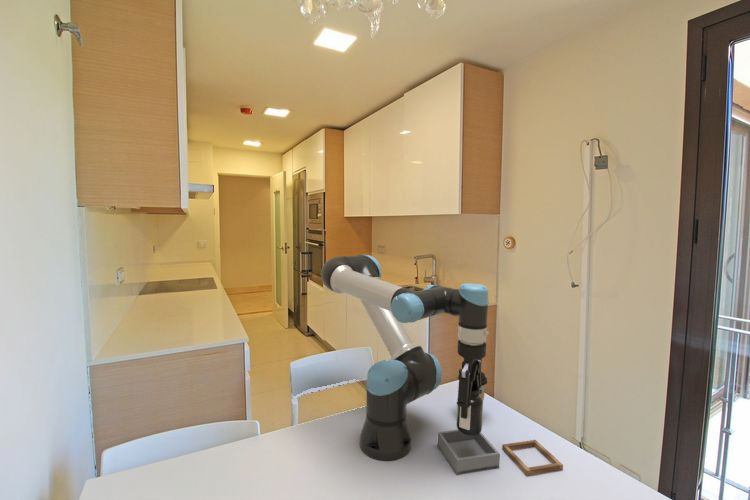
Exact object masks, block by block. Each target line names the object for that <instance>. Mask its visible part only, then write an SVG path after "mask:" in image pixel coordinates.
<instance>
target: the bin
mask: <svg viewBox="0 0 750 500" xmlns="http://www.w3.org/2000/svg"><path fill="white" fill-rule="evenodd" d="M437 447H438V448H439V450H440V451H441V453H442V455H443V456H444V457H445V460H446V462H448V463H449V466H450V467H451V468H452V470H453V471H454V473H455V474H456V476H458V475H464V474H470V473H477V472H482V471H488V470H494V469H495V470H496V469H499V468H500V459H501V458H500V457H501V453H500V451H498V450H497V449H496V447H494V446H493V444H492V443H490V441H489V440H488V439H487V438H486V436H485V435H484V434H483V433H482V431H481V432H480V433H479V434H477V435H466V434H464V433H462V432H460V431H459V430H458V429H452V430H445V431H438V432H437Z"/></svg>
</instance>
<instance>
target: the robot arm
mask: <svg viewBox="0 0 750 500" xmlns="http://www.w3.org/2000/svg"><path fill="white" fill-rule="evenodd" d="M381 278H382V267H381V265H380V262H379V261H378V260H377V259H376V258H375V257H374V256H372V255H369V254H356V255H346V256H345V255H344V256H342V255H341V256H335V257H332V258H329V259H328V260H327V261H325V263H324V264H323V265H322V268H321V271H320V279H321V281H322V283H323V285H324V286H325V288H327V289H328V290H329V291H331V292H334V293H337V294H347V295H349V296H352V297H355V298H357V299H359V300H360V301H361V304H362V306H363V307H364V309H365V311H366V313H367V315H368V317H369V318H370V320H371V322H372V324H373V326H374V327H375V329H376V331H377V333H378V334H379V336H380V338H381V340H382V342H383V344H384V346H385V348H386V349H387V351H388V353H389V355H390V357H391V358H390V359H388V360H385V359H384V360H380V361H377V362H375V363H374V364H372V365H371V366H370V367H369V368H368V370H367V375H366V377H367V378H366V383H365V387H366V405H365V406H366V410H365V411H366V413H365V414H366V416H365V420H364V423H363V425H362V428H361V432H360V435H359V446H360V449H361V450H362V452H363V453H365V455H367V456H369V457H370V458H371V459H375V460H380V461H395V460H399V459H400V458H403V457H405V456H406V455H408V453H409V452H410V450H411V449H412V434H411V431H410V429H409V425H408V421H407V405H408V404H410V403H413V402H414V401H416V400H417V399H420V398H422V397H424V396H427V395H429V394H431V393H432V392H433V391H434V390H436V389H438V387H439V386H440V384H441V383H442V382H441V381H442V375H443V373H442V371H443V369H442V366H441V364H440V362H439V359H438V358H437V357H436V356H435V355H434V354H431V353H429V352H425V351H424V349H423V347H422V345H420V344H417V343H414V340H412V338H411V335H409V333H408V331H407V329H406V327H405V325H404V324H408V323H415V322H417V321H420V320H423V319H427V318H430V317H435V316H437V315H442V314H446V315H449V316H454V317H457V318H458V323H457V325H458V327H457V339H458V340H457V355H459V356H460V357H462V358H463V361H462V362H461V368H459V369H458V376H459V379H458V386H457V387H458V388H457V389H458V391H457V399H458V402H457V401H456V406H457V405H458V406H460V420H459V427H461V428H464V429H467V430H470V415H471V406H470V398H471V391H472V384H475V385H477V386H478V387H479V388H481V372H482V360H483V359H484V358H485V357H486V355H487V343H486V341H487V336H488V335H489V333H490V332H489V331H487V330H488V327H487V326H488V312H489V311H488V309H489V289H488V287H487V286H485V285H484V284H480V283H471V282H470V283H462V284H461V285H460V286H459V289H458V288H453V287H447V286H443V285H440V284H428V285H427V286H425V287H424V288H423V289H422V290H421V289H420V290H416V291H415V290H411V289H408V288H406V287H403V286H400V285H397V284H394V283H391V282H388V281H385V280H382V279H381ZM481 393H482V390H480V394H481Z"/></svg>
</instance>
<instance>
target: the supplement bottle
mask: <svg viewBox="0 0 750 500" xmlns="http://www.w3.org/2000/svg"><path fill="white" fill-rule="evenodd" d="M479 395H480V389H479V387H478V386H477V385H475V384H472V391H471V398H470V406H471V415H470V430H467V429H464V428H461V427H459V420H460V406H458V405H457V404H456V428H457V430H459V431H460V432H462V433H464V434H466V435H477V434H479V433H480V432H481V433H482V429H483V415H484V414H483V410H484V409H483V408H484V400H482V398H481V397H480V396H479ZM457 402H458V398H457V400H456V403H457Z"/></svg>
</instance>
